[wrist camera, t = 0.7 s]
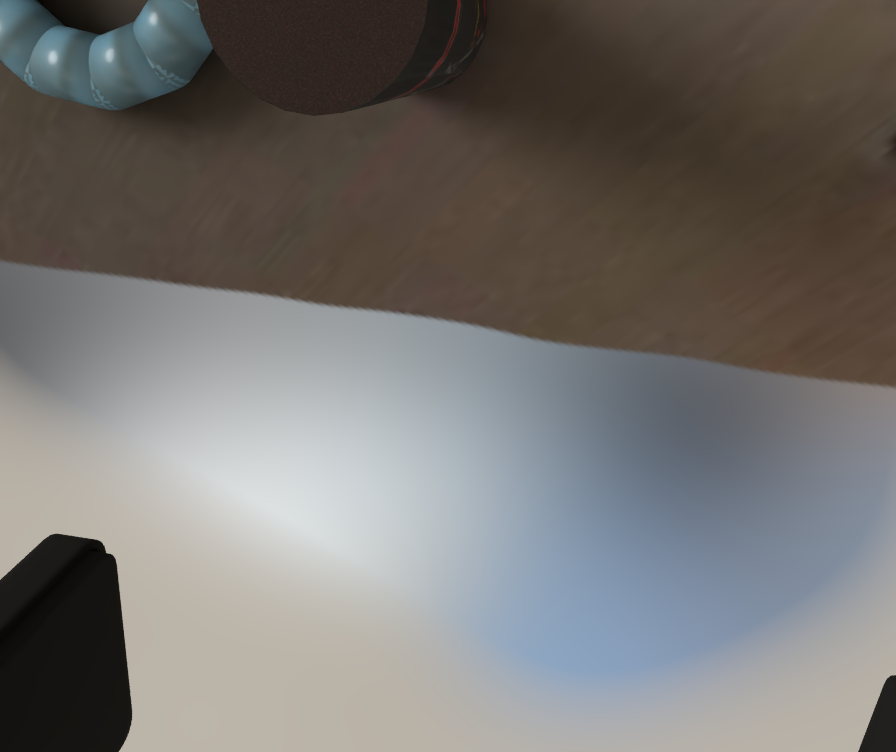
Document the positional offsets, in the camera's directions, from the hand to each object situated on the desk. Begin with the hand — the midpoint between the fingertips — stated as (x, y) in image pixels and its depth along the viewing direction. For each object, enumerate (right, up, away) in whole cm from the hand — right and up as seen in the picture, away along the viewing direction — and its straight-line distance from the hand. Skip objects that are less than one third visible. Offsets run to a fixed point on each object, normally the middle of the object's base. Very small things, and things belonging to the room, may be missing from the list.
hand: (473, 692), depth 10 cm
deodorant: (-2, +19, +23) cm, 30 cm away
